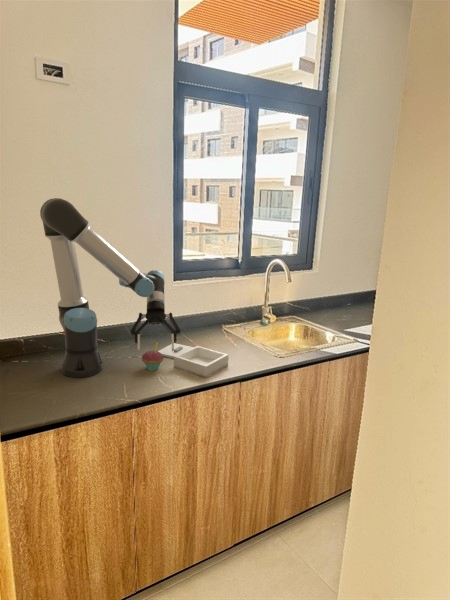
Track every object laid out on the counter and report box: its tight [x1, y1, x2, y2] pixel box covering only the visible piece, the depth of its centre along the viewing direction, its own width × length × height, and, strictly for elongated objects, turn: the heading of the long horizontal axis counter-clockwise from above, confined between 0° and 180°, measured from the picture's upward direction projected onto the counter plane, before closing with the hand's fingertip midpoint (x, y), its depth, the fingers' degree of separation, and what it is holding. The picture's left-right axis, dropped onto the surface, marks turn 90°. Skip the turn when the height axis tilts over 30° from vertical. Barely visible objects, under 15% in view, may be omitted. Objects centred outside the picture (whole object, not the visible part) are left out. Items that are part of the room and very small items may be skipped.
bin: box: [173, 345, 229, 379], centre depth 169 cm, size 16×16×5 cm
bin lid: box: [158, 342, 195, 359], centre depth 183 cm, size 14×14×2 cm
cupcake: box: [141, 341, 165, 371], centre depth 164 cm, size 9×8×12 cm
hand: (155, 350), depth 165 cm, fingers open, 13 cm apart
